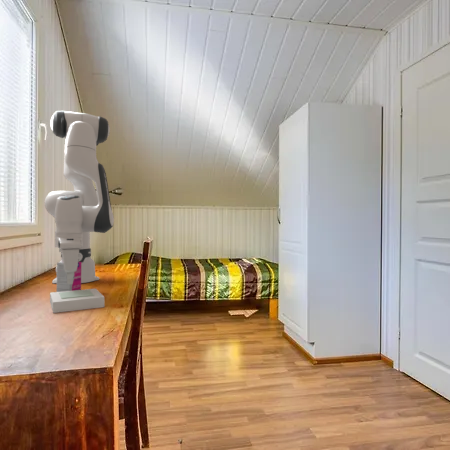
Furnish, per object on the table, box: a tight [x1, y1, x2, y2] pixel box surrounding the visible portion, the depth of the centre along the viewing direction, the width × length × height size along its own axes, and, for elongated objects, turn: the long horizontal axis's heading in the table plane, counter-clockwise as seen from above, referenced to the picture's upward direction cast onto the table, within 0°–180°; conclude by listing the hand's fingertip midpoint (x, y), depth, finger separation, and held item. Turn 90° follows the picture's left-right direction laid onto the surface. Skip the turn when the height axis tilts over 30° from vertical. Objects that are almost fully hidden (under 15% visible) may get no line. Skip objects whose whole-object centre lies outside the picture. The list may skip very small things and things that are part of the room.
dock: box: [49, 288, 105, 314], centre depth 111 cm, size 17×14×3 cm
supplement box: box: [56, 261, 82, 292], centre depth 122 cm, size 6×6×12 cm
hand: (69, 281), depth 122 cm, fingers open, 8 cm apart
